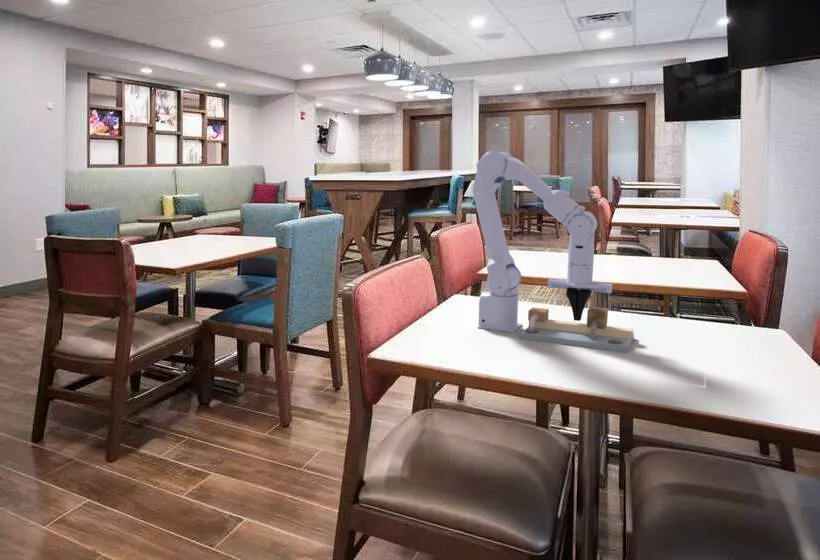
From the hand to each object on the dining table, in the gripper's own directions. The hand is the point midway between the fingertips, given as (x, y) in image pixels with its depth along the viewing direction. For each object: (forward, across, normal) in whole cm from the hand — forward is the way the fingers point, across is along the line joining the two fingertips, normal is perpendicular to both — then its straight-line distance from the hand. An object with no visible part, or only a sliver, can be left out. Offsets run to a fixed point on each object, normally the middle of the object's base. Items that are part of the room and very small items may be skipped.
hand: (577, 319), depth 137 cm
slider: (+2, +4, -2) cm, 6 cm away
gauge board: (+4, 0, -2) cm, 4 cm away
